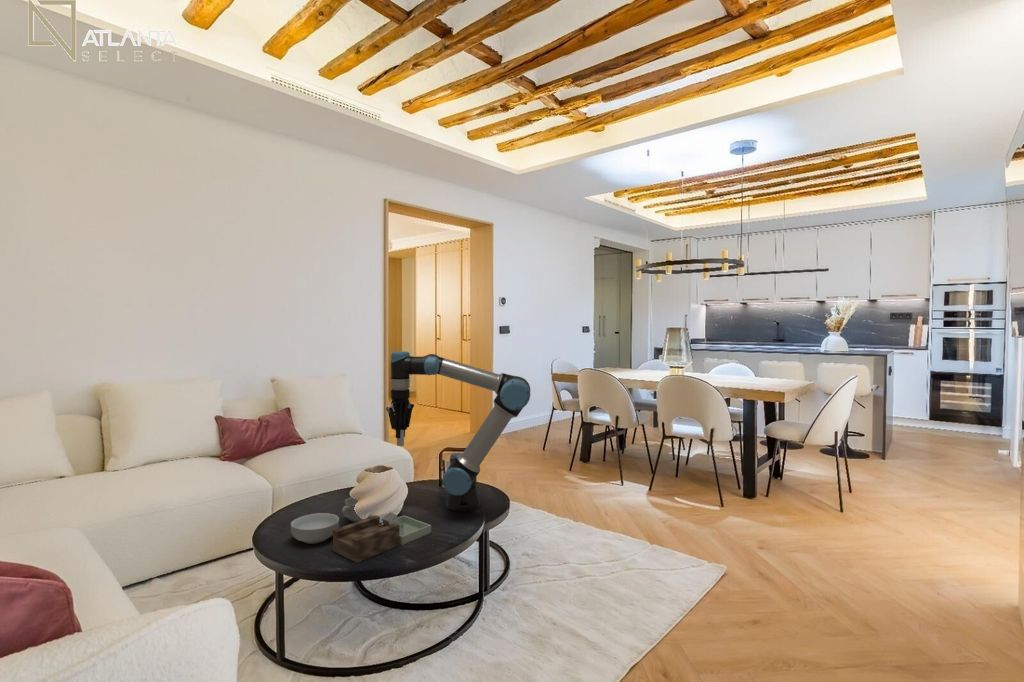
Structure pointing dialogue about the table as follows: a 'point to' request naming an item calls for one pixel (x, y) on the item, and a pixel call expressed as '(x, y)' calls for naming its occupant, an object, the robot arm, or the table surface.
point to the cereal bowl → (314, 527)
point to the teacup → (350, 510)
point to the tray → (412, 529)
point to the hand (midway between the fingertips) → (400, 445)
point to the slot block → (365, 539)
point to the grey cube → (401, 529)
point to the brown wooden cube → (390, 519)
